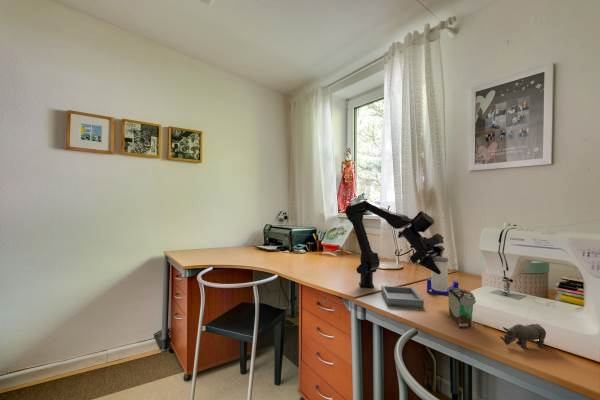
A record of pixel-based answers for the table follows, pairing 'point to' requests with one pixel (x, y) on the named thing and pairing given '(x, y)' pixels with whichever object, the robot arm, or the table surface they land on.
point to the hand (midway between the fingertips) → (443, 272)
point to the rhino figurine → (525, 335)
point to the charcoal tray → (402, 297)
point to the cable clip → (455, 285)
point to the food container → (461, 307)
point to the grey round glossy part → (440, 280)
